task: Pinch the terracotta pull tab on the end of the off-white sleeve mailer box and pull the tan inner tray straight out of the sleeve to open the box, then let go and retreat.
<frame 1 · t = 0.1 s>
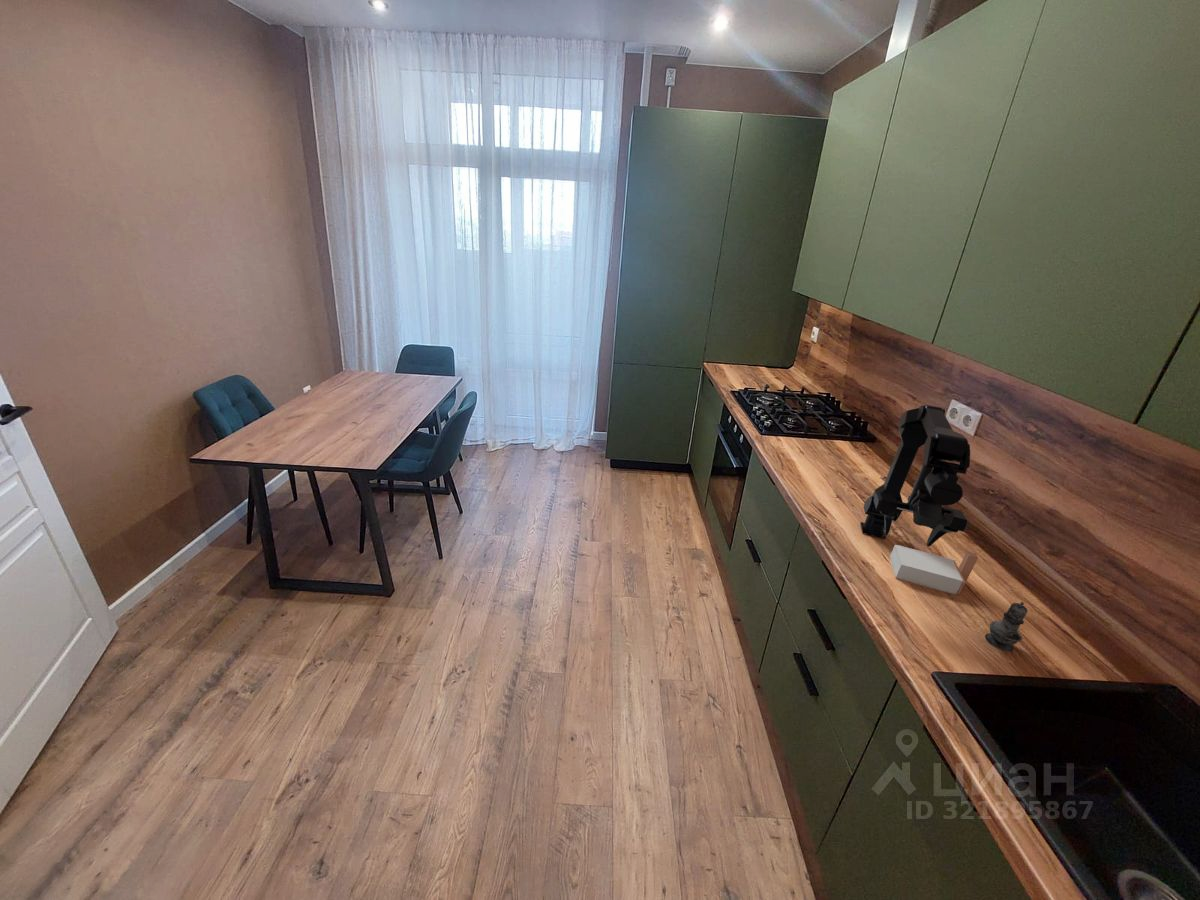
hand: (906, 540, 118), 15 cm above the worktop, fingers open, 9 cm apart
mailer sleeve: (921, 575, 130), on the worktop
grey figurine: (998, 643, 109), on the worktop
mailer tray: (935, 561, 127), point 5 cm above the worktop, slide at 0.0 cm
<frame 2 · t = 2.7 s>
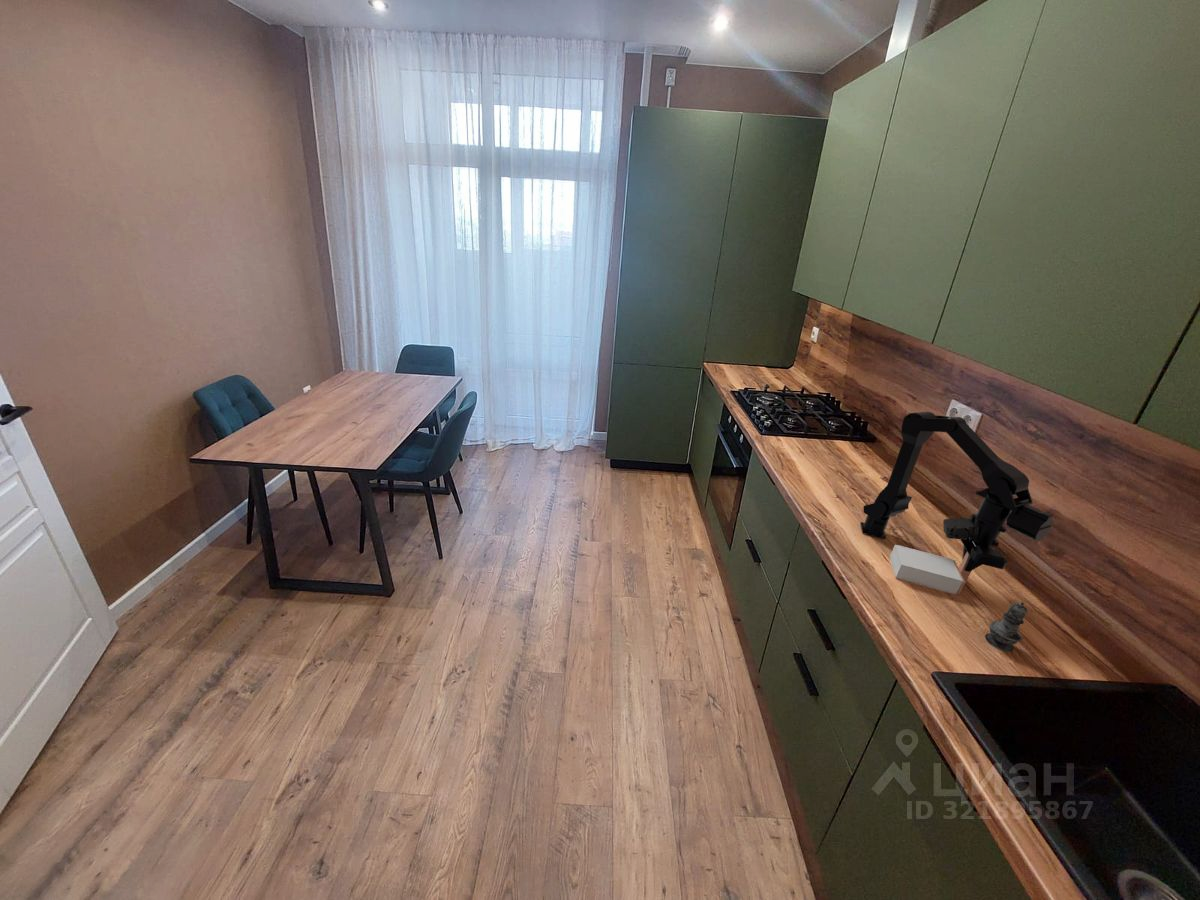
hand: (965, 568, 125), 6 cm above the worktop, fingers closed on mailer tray, 2 cm apart
mailer tray: (935, 561, 127), point 5 cm above the worktop, slide at 0.0 cm, touching gripper
everything else where it was.
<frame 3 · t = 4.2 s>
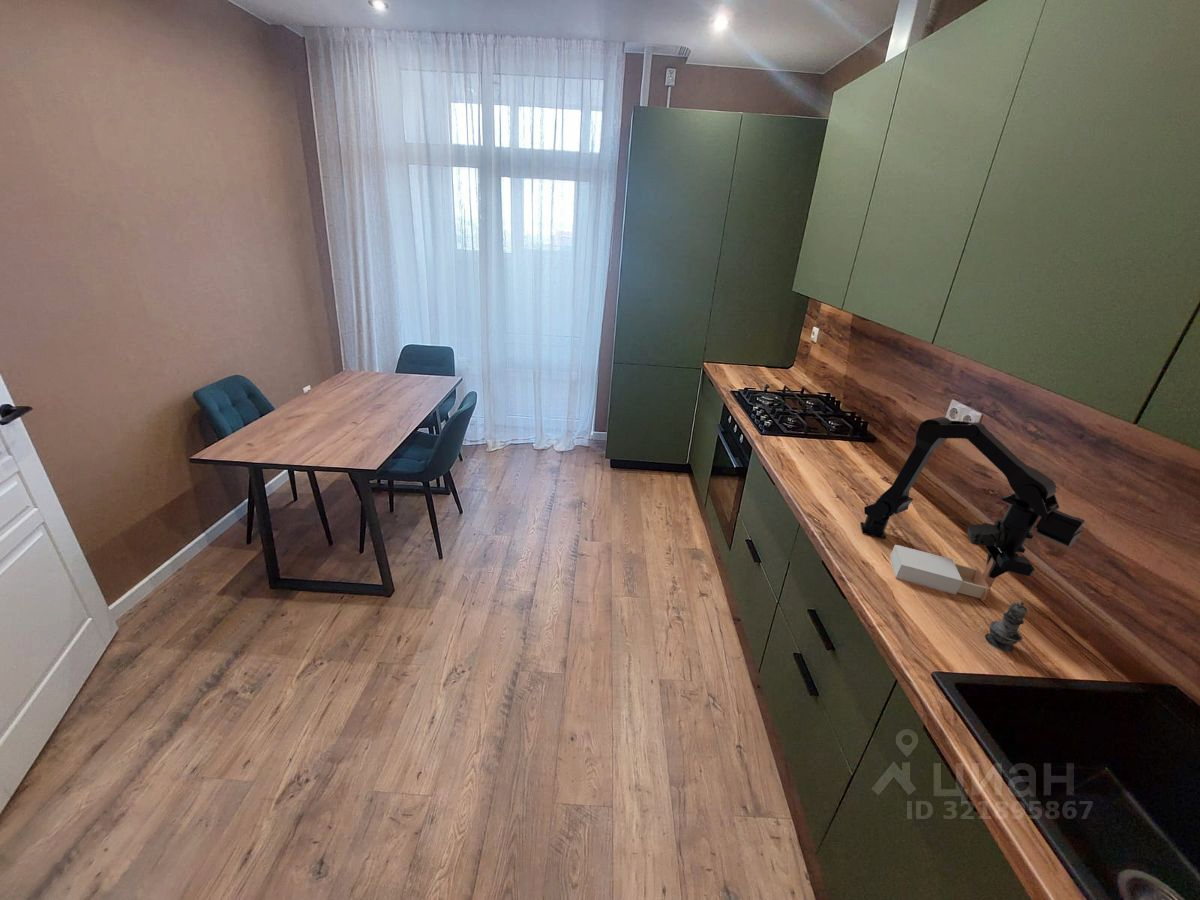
hand: (989, 574, 123), 6 cm above the worktop, fingers closed on mailer tray, 2 cm apart
mailer tray: (958, 567, 125), point 5 cm above the worktop, slide at 5.4 cm, touching gripper
everything else where it was.
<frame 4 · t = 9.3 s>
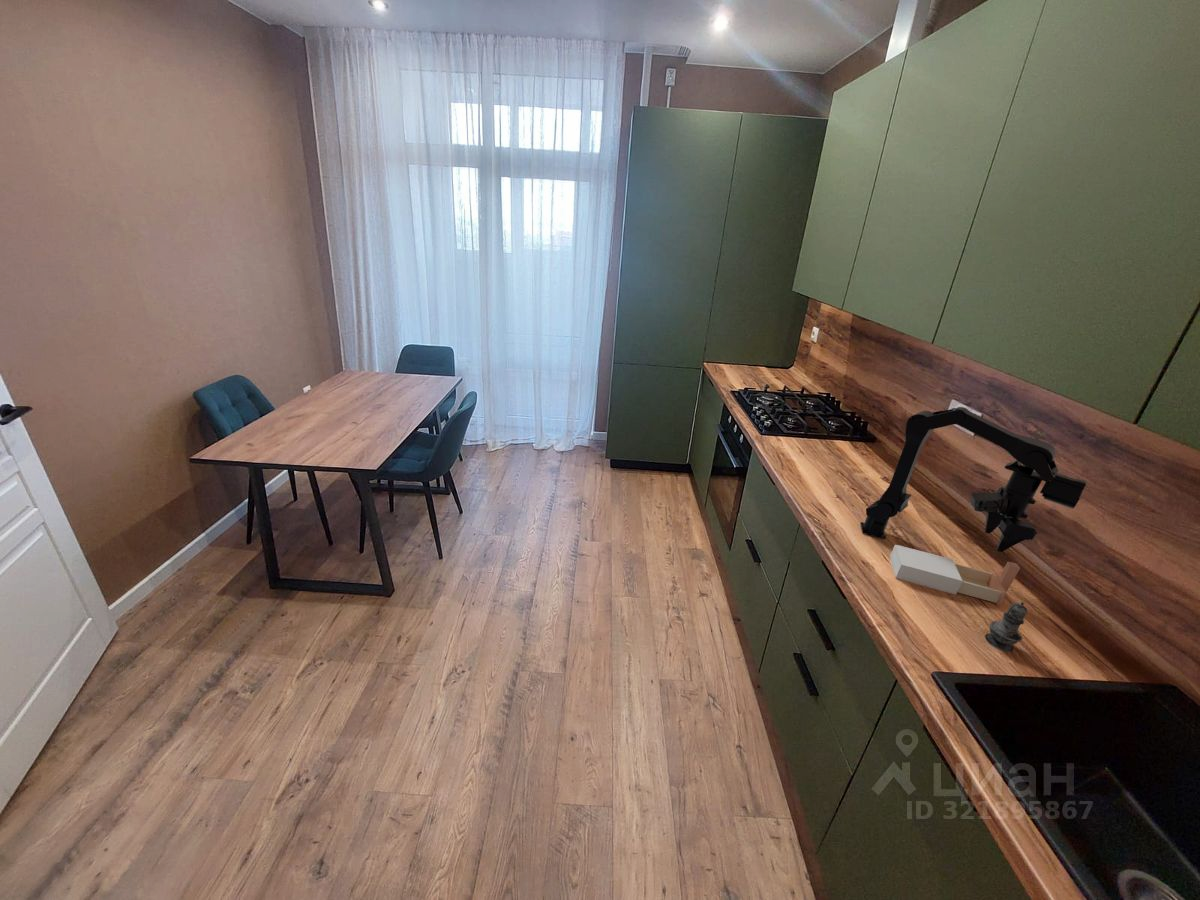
hand: (992, 541, 125), 12 cm above the worktop, fingers open, 9 cm apart
mailer tray: (974, 571, 124), point 5 cm above the worktop, slide at 9.0 cm
everything else where it was.
at the end: mailer tray slide at 9.0 cm; the gripper is holding nothing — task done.
